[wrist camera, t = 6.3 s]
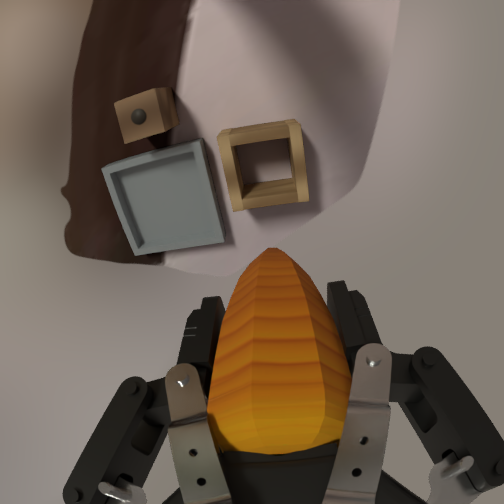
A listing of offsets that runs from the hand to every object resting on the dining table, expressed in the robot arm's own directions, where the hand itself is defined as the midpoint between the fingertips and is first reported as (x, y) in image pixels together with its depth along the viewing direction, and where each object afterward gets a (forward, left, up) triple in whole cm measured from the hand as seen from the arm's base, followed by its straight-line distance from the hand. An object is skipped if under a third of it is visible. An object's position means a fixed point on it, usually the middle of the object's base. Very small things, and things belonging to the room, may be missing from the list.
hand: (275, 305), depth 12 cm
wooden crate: (0, 0, -26) cm, 26 cm away
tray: (+3, -14, -26) cm, 29 cm away
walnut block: (-9, -12, -26) cm, 30 cm away
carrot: (0, 0, -5) cm, 5 cm away
